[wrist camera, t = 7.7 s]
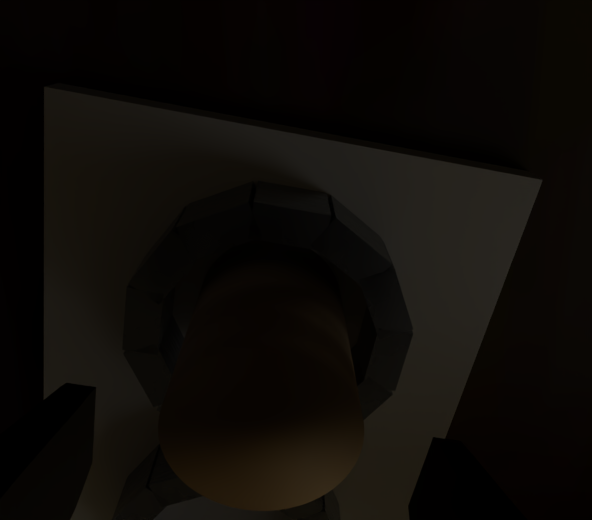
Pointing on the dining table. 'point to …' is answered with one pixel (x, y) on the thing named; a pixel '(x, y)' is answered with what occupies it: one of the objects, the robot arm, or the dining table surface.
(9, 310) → the dining table surface
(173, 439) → the tan rounded capsule
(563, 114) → the dining table surface
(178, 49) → the dining table surface
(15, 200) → the dining table surface
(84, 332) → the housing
